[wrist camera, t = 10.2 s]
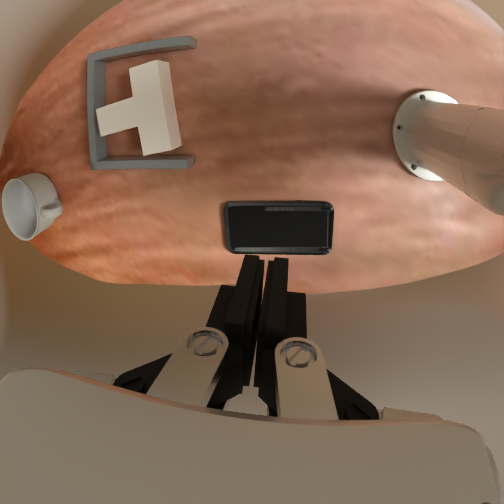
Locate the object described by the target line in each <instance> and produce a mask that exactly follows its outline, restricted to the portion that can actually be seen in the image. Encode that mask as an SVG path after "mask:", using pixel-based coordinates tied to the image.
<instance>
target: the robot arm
mask: <svg viewBox="0 0 504 504" xmlns="http://www.w3.org/2000/svg"><path fill="white" fill-rule="evenodd" d="M420 96H421V99H420ZM398 125H399V126H400V128H399V129H397V126H398ZM392 138H393V143H394V147H395V150H396V153H397V155H398V157H399V159H400V160H401V162H402V163H403V164H404V166H405V167H406V168H407V169H408V170H409V171H410V172H412V173H413V174H414V175H416V176H417V177H419V178H422V179H424V180H427V181H432V182H433V181H443V180H445V181H447V182H448V183H450V184H451V185H453V186H454V187H456V188H457V189H459V190H460V191H462V192H463V193H465V194H466V195H468V196H469V197H471V198H472V199H473V200H475V201H476V202H478V203H479V204H480V205H482V206H483V207H485V208H486V209H488V210H489V211H491V212H493V213H495V214H498V215H502V216H504V110H500V109H494V108H488V107H481V106H473V105H465V104H458V103H457V102H456V101H455V100H454V99H453V98H452V97H450V96H449V95H447V94H445V93H442V92H439V91H434V90H425V91H419V92H416V93H414V94H412V95H410V96H409V97H407V98H406V99H405V100H404V101H403V102H402V103H401V105H400V106H399V108H398V110H397V111H396V114H395V117H394V120H393V127H392ZM412 164H413V166H412V167H411V165H412ZM288 260H289V259H288V258H278V257H275V259H274V261H270V260H269V262H268V269H267V275H266V281H265V287H264V294H263V300H262V289H263V275H264V260H260V259H259V256H257V255H245V257H244V260H243V263H242V267H241V270H240V273H239V277H238V280H237V283H236V286H228V285H221V287H220V289H219V292H218V295H217V297H216V300H215V303H214V306H213V308H212V311H211V314H210V317H209V319H208V322H207V324H206V327H201V328H196V329H193V330H191V331H190V332H188V333H187V334H186V335H185V336H184V337H183V339H182V340H181V342H180V343H179V345H178V346H177V348H176V349H175V351H174V353H172V354H169V355H167V356H165V357H162V358H160V359H157V360H155V361H153V362H150V363H148V364H145V365H143V366H140V367H138V368H135V369H133V370H130V371H128V372H125V373H123V374H122V375H120V376H119V377H115V376H114V374H111V373H100V372H90V371H80V370H72V369H63V370H57V369H52V368H44V367H27V368H20V369H17V370H14V371H12V372H11V373H9V374H8V375H7V376H5V377H4V378H3V379H2V380H1V381H0V504H504V499H503V493H502V488H501V483H500V479H499V475H498V471H497V467H496V464H495V461H494V458H493V455H492V453H491V450H490V448H489V446H488V444H487V442H486V440H485V439H484V437H483V436H482V435H481V434H480V433H479V432H478V431H477V430H475V429H474V428H472V427H469V426H467V425H464V424H461V423H457V422H453V421H449V420H443V419H442V418H441V417H439V416H437V415H434V414H427V413H419V412H412V411H405V410H398V409H392V408H386V407H384V409H383V410H379V409H376V407H375V406H374V405H373V404H372V403H371V402H369V401H368V400H367V399H365V398H364V397H363V396H361V395H360V394H359V393H357V392H356V391H355V390H353V389H352V388H351V387H350V386H348V385H347V384H346V383H344V382H343V381H342V380H340V379H339V378H338V377H336V376H335V375H334V374H333V373H331V372H330V371H329V370H327V369H326V366H325V362H324V359H323V355H322V352H321V350H320V348H319V347H318V346H317V345H316V344H315V343H314V342H312V341H311V340H308V339H307V327H306V326H307V324H306V294H305V293H297V292H287V282H288ZM261 303H262V306H261ZM256 342H257V349H256V363H255V375H254V387H259V393H258V396H259V397H260V398H261V399H262V400H263V401H264V402H265V403H266V404H267V416H263V415H254V414H246V413H238V412H231V411H227V408H228V406H229V402H230V399H231V398H232V397H234V396H236V395H238V394H242V389H243V386H249V383H250V378H251V371H252V366H253V359H254V353H255V348H256Z"/></svg>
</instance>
